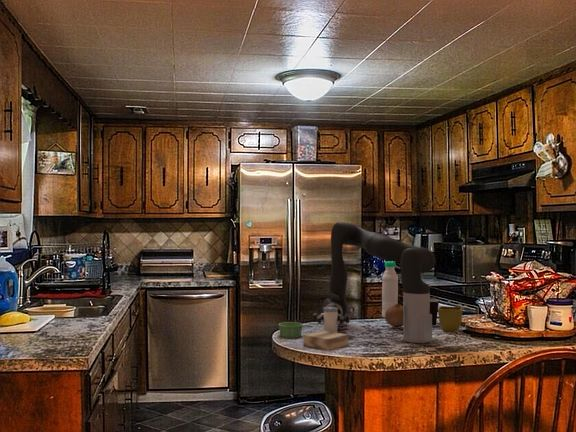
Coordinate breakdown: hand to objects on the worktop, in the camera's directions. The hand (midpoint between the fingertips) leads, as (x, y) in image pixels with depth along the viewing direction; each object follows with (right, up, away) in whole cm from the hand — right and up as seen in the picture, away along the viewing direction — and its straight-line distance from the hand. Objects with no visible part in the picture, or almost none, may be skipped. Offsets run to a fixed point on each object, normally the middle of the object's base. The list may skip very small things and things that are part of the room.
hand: (330, 321), depth 200 cm
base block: (-2, -6, -9) cm, 11 cm away
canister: (0, -7, +2) cm, 7 cm away
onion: (+29, -7, +22) cm, 37 cm away
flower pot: (+49, -7, +17) cm, 52 cm away
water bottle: (+31, -8, +48) cm, 57 cm away
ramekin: (-14, -7, +6) cm, 17 cm away
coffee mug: (+44, -7, +33) cm, 55 cm away
